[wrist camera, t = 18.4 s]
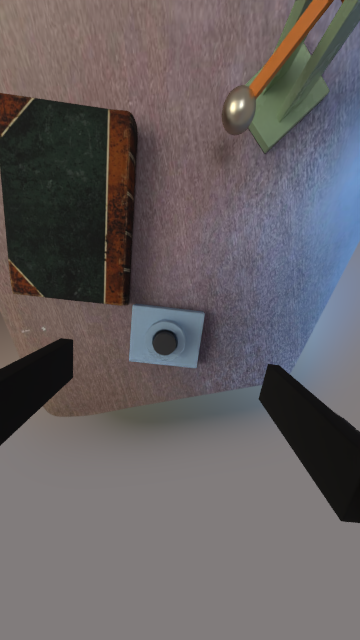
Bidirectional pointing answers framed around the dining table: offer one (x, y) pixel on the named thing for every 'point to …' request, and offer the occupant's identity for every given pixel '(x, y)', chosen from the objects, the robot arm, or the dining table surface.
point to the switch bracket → (300, 76)
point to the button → (164, 342)
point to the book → (68, 198)
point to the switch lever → (268, 72)
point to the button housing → (170, 319)
